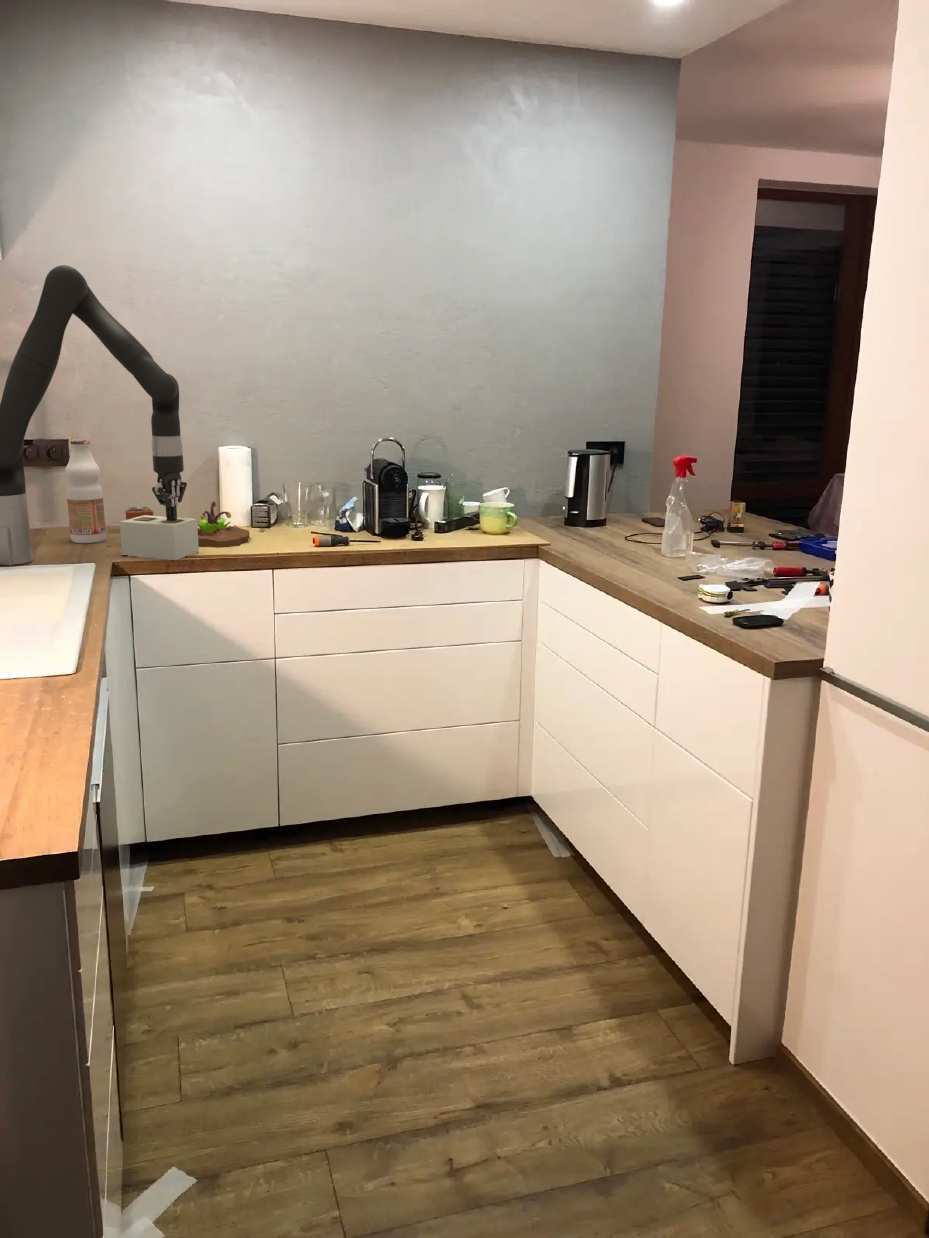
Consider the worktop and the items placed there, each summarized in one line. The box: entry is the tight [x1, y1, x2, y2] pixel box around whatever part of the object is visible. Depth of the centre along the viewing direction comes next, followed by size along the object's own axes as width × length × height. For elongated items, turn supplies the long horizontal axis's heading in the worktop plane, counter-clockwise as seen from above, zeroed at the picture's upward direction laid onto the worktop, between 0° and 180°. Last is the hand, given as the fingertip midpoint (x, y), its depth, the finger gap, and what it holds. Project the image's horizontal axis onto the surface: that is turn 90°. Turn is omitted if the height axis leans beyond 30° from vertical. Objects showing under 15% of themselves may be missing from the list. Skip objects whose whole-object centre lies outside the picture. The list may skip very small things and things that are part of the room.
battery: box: [125, 506, 154, 520], centre depth 275 cm, size 4×7×10 cm, turn 118°
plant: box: [197, 501, 250, 548], centre depth 280 cm, size 20×20×11 cm
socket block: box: [119, 515, 200, 561], centre depth 261 cm, size 11×16×9 cm
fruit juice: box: [64, 438, 107, 544], centre depth 274 cm, size 9×9×28 cm
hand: (172, 520), depth 258 cm, fingers closed
